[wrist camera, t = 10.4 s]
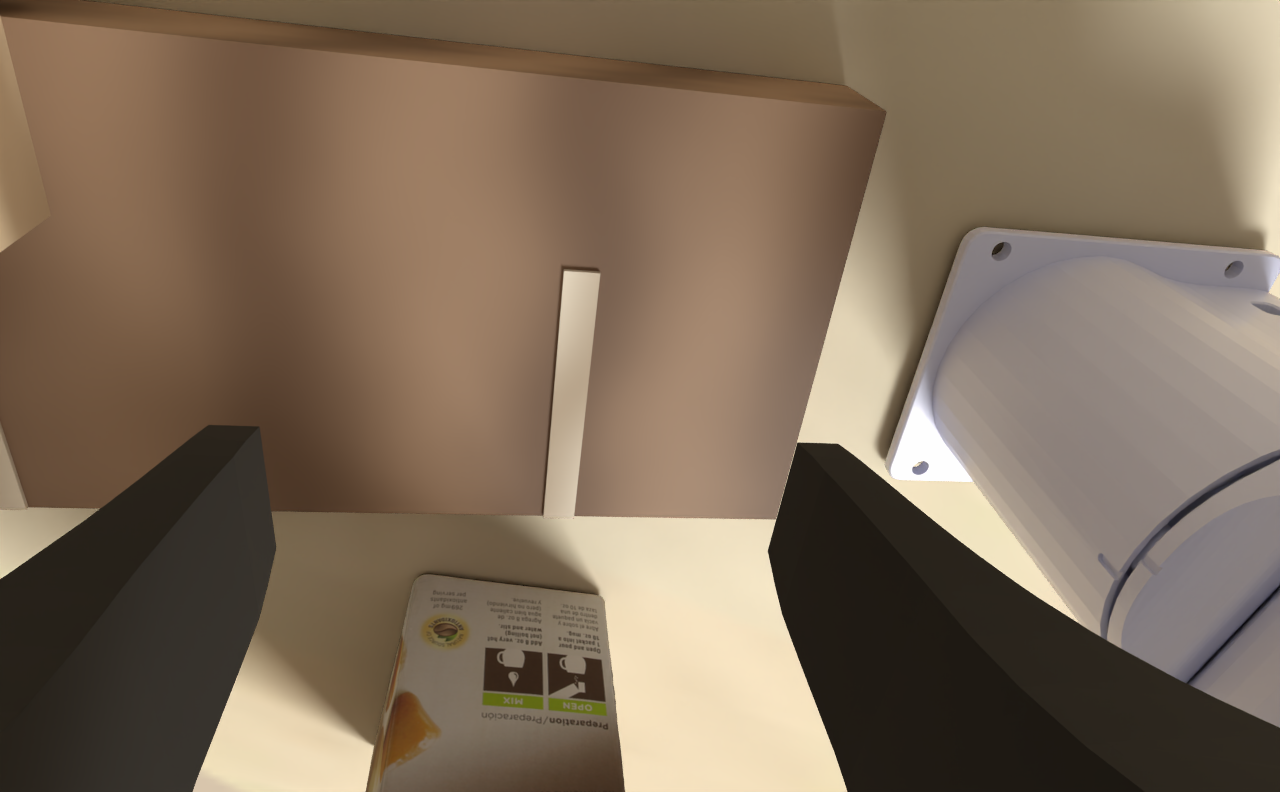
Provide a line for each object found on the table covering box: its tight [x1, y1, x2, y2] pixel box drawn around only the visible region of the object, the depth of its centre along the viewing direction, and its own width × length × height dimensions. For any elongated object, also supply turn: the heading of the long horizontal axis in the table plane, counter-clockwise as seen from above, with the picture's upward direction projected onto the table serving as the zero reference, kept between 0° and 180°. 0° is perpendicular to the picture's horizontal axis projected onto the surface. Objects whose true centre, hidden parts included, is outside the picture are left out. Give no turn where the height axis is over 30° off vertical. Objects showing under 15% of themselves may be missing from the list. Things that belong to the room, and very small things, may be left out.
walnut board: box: [0, 0, 887, 519], centre depth 19 cm, size 24×11×3 cm, turn 83°
